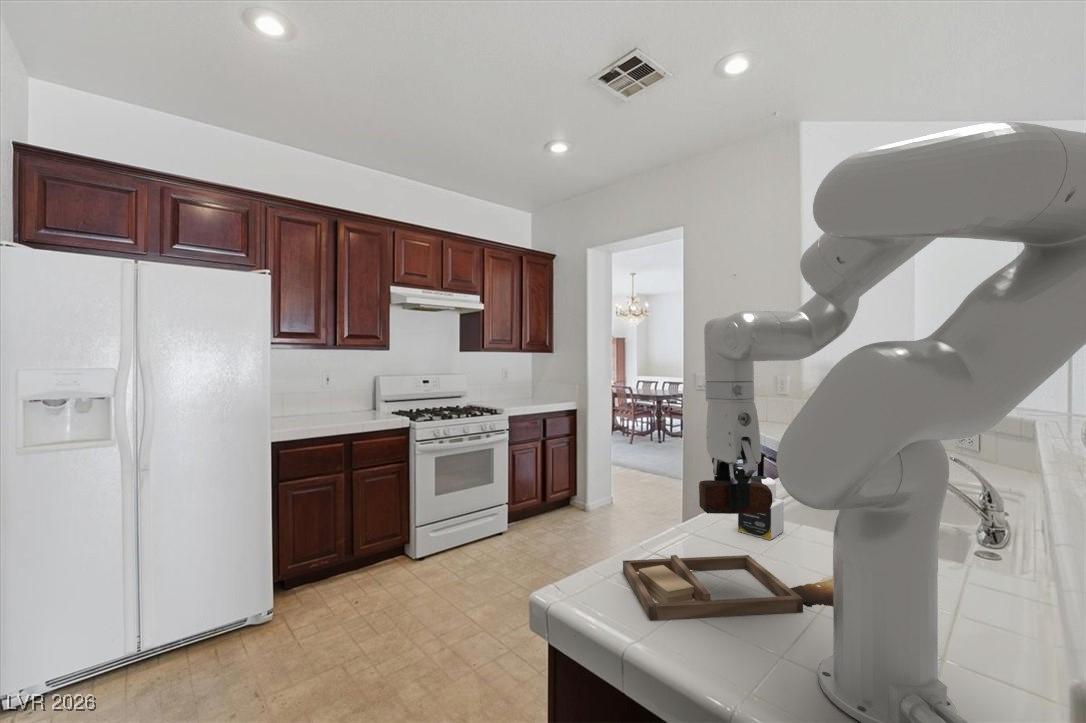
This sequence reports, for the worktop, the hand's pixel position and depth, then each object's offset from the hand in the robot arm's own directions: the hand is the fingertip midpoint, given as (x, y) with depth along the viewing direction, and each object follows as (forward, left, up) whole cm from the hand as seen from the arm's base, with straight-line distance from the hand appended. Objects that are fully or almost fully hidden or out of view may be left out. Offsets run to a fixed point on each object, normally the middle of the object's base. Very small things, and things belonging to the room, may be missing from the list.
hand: (731, 502), depth 78 cm
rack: (+1, +4, -15) cm, 15 cm away
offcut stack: (+1, +11, -15) cm, 19 cm away
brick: (0, 0, -2) cm, 2 cm away
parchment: (-1, -21, -15) cm, 26 cm away
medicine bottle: (+25, -19, -15) cm, 34 cm away
